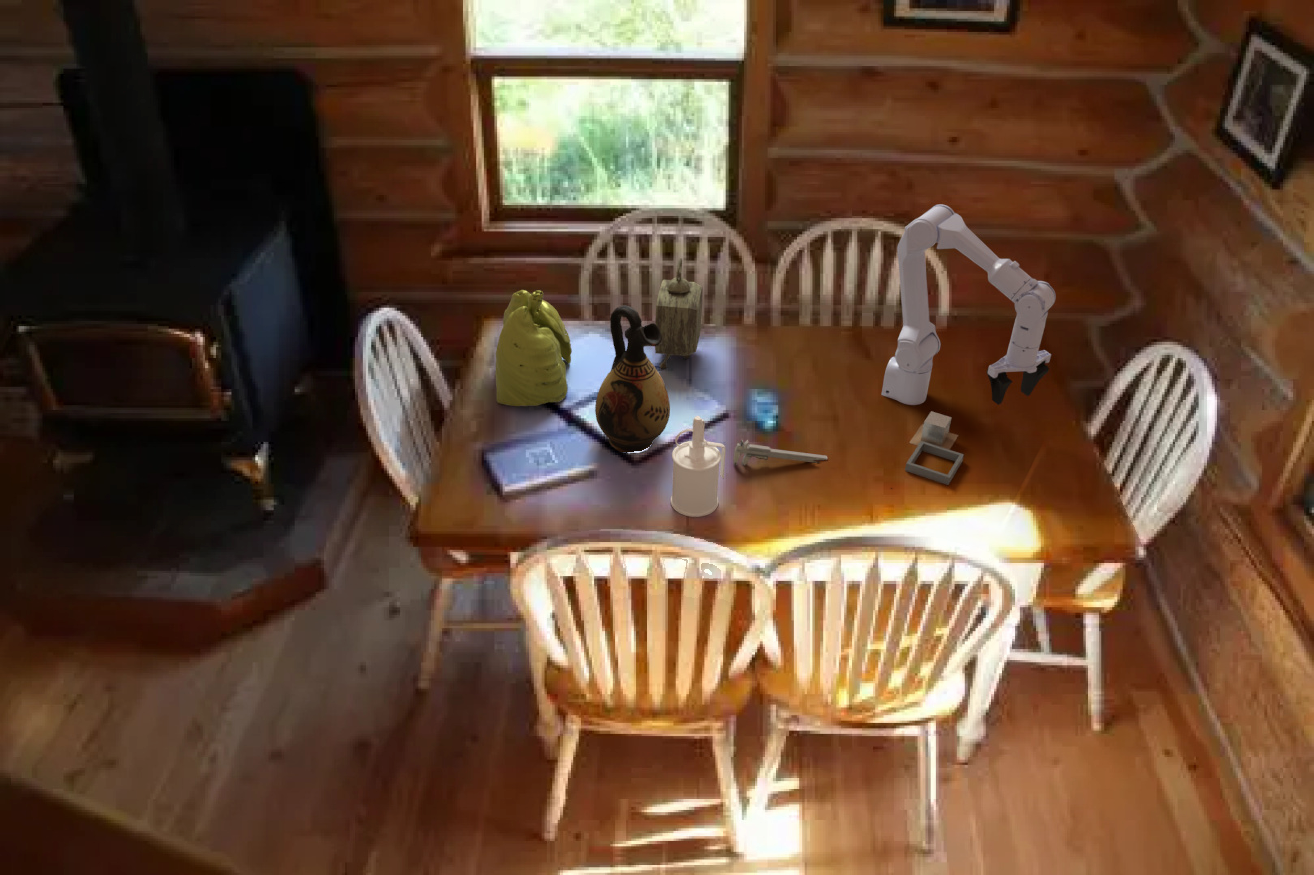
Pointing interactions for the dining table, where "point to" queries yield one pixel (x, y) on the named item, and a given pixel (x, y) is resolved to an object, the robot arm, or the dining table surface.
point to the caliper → (771, 453)
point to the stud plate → (946, 444)
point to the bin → (931, 473)
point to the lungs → (531, 353)
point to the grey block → (936, 429)
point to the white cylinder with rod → (696, 473)
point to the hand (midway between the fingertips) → (1010, 397)
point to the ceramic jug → (632, 387)
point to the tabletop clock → (678, 316)
